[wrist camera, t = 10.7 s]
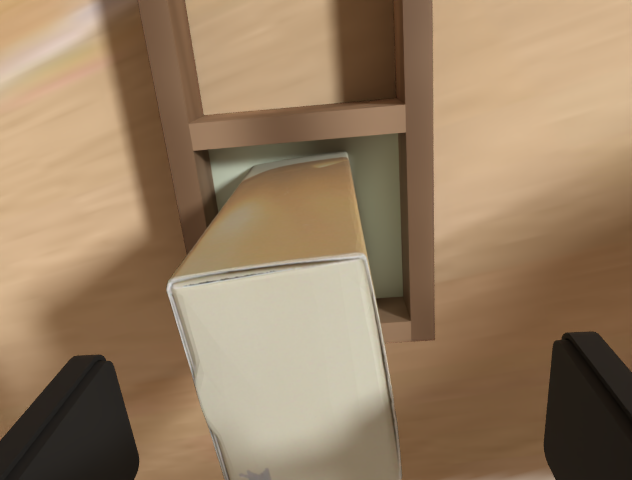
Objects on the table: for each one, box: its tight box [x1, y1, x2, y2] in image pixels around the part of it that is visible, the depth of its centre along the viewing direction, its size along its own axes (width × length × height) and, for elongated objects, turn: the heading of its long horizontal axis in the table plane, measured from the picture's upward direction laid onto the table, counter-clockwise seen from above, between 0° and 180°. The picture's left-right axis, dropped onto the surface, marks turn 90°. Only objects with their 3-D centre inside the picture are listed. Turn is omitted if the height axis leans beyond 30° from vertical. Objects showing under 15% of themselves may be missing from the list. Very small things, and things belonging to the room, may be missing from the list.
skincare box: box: [166, 151, 402, 480], centre depth 17 cm, size 6×4×12 cm
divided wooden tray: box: [138, 0, 435, 343], centre depth 20 cm, size 10×19×2 cm, turn 5°
